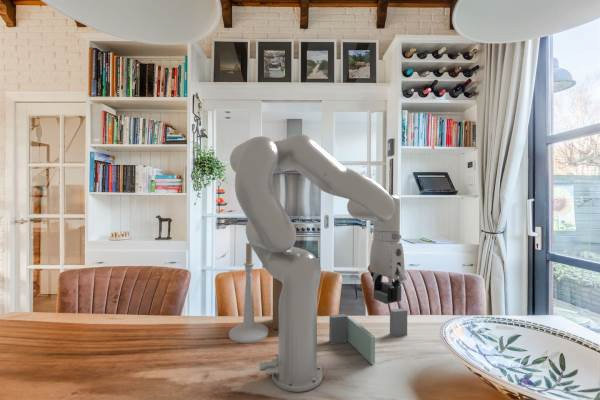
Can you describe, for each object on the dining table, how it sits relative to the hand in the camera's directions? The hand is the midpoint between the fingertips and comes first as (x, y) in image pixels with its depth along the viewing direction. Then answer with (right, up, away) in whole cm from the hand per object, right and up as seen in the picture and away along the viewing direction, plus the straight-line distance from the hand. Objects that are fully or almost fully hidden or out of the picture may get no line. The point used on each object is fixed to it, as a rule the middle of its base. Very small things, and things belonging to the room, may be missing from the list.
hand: (385, 297), depth 89 cm
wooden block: (-29, -15, +17) cm, 37 cm away
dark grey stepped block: (+1, -1, 0) cm, 1 cm away
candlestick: (-42, -15, +10) cm, 46 cm away
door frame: (-3, -15, +7) cm, 17 cm away
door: (-8, -15, -2) cm, 17 cm away
